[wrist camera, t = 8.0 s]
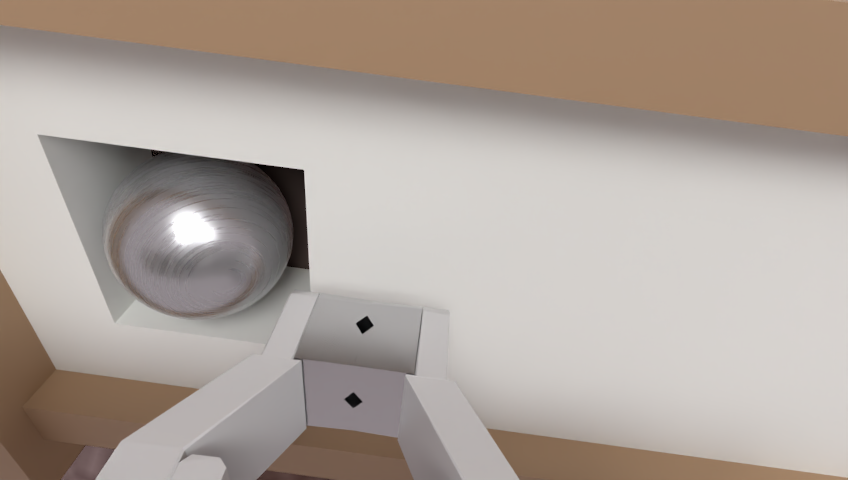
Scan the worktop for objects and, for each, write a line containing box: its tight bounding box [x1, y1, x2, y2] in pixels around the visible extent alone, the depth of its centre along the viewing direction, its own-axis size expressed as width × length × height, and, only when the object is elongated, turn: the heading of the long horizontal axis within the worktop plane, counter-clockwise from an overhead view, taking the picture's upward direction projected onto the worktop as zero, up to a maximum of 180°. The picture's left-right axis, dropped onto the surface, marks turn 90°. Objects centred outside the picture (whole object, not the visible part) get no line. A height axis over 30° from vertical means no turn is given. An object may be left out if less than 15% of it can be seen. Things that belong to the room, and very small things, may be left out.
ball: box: [102, 152, 293, 320], centre depth 11 cm, size 4×4×4 cm
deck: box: [0, 0, 848, 480], centre depth 10 cm, size 16×26×5 cm, turn 84°
